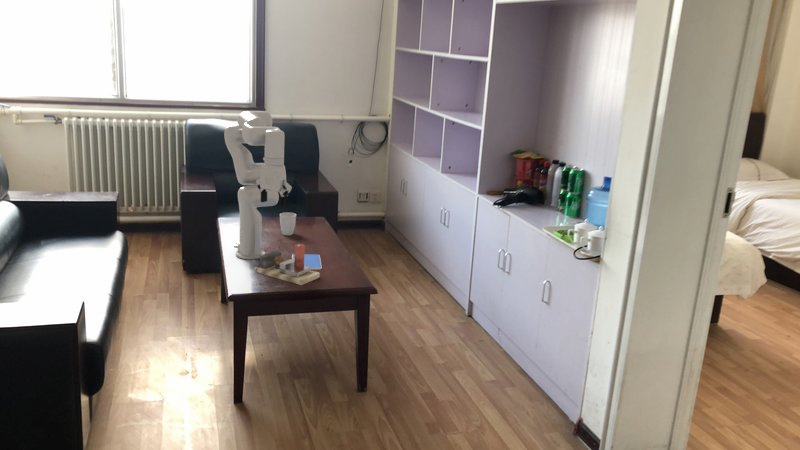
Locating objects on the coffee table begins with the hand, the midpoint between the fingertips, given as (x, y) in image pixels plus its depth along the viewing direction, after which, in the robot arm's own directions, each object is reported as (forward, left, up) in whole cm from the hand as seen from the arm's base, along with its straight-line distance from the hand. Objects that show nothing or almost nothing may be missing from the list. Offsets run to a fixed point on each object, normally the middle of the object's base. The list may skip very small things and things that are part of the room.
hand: (273, 203), depth 271 cm
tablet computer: (0, +23, -31) cm, 39 cm away
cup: (-33, +51, -31) cm, 68 cm away
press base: (+5, +5, -30) cm, 31 cm away
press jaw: (+8, +5, -28) cm, 30 cm away
